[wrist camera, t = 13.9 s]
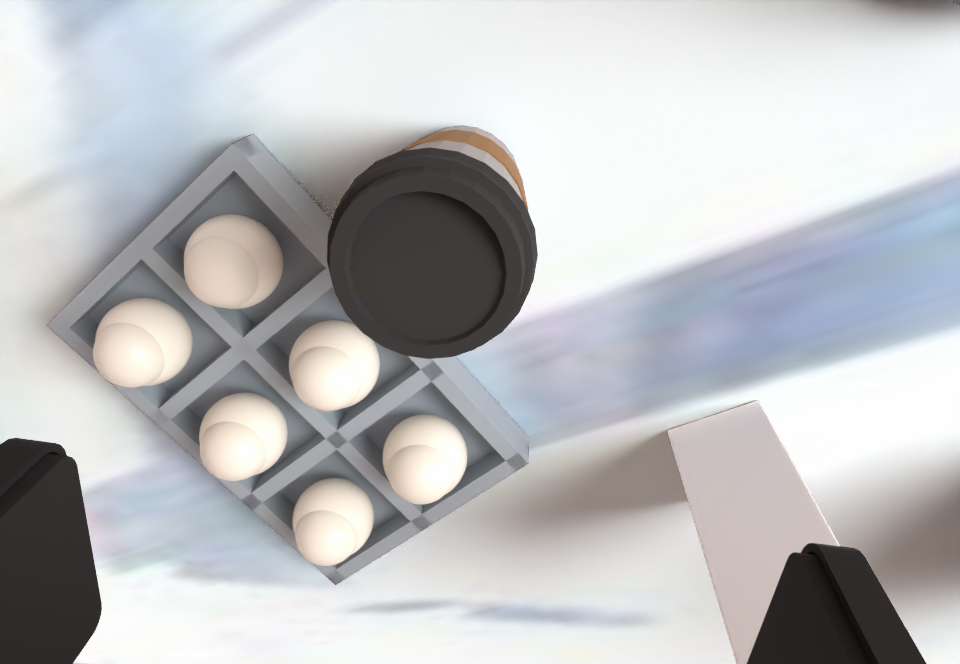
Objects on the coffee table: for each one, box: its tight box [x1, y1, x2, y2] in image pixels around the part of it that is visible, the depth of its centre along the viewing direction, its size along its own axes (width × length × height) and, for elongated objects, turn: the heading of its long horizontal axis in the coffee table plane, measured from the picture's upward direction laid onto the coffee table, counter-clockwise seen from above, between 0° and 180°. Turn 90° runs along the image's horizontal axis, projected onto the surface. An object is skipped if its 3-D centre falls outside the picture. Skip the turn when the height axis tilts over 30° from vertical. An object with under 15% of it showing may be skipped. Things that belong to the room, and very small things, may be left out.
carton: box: [47, 134, 529, 585], centre depth 43 cm, size 25×17×7 cm
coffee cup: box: [327, 126, 538, 359], centre depth 33 cm, size 8×8×15 cm
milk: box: [668, 401, 840, 664], centre depth 36 cm, size 6×6×22 cm
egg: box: [292, 477, 374, 566], centre depth 46 cm, size 5×5×6 cm
